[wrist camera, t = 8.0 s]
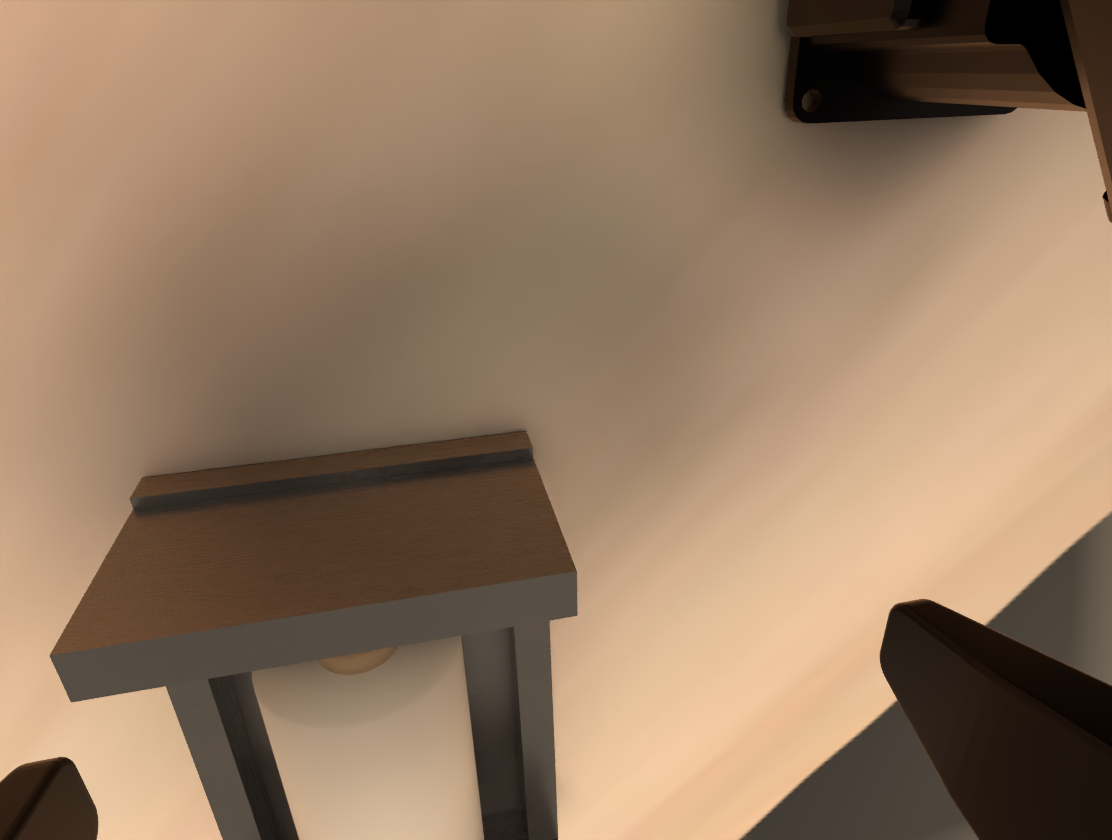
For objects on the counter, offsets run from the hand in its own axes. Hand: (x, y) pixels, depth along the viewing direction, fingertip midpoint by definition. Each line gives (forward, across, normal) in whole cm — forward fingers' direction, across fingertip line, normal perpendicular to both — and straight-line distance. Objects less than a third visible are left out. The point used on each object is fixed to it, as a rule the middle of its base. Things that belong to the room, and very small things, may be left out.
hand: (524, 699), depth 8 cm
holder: (+12, +3, +11) cm, 17 cm away
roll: (+11, +3, +11) cm, 16 cm away
